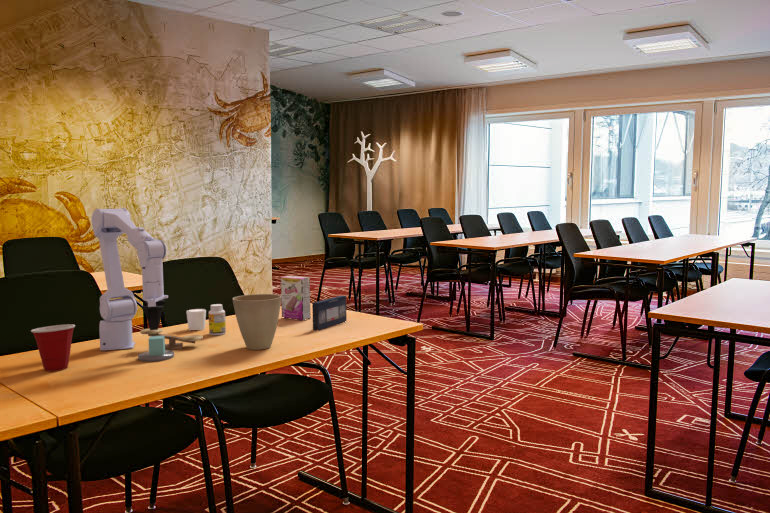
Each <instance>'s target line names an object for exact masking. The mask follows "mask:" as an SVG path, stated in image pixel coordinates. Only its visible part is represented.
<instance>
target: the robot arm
mask: <svg viewBox="0 0 770 513" xmlns="http://www.w3.org/2000/svg"><path fill="white" fill-rule="evenodd" d="M128 210H129V209H127V208H125V207H122V208H95V209H94V211H93V212H92V214H91V226H92V230H93V236H94V237H96V238H98V242H99V248H100V249H99V250H100V253H101V254H100V255H101V258H102V265H103V271H104V277H105V283H106V289H107V290H106V291H105V292H103V294H101V295H100V297H99V314H100V317H101V318H102V319H103V320H100V321H99V327H98V328H99V329H98V330H99V333H98V334H99V348H100V349H99V351H113V350H114V351H115V350H125V349H134V346H135V345H136V341H133V324H132V323H133V321H132V319H134V318H135V315H136V314H137V311H138V304H137V301H136V298H135V294H134V293H133V291H132V290H130V289H128V288H126V287H125V283H124V282H125V281H124V276H123V271H122V266H121V259H120V253H119V247H118V241H117V239H118V237H120V236H122V235H123V234H125V235H126V236H127V237H126V238H127V239H126V240H127V242H128V243H129V244H130V245H131V246H132V247H133V248H134V249H135V250H136V254H137V255H136V256H137V258H138V262H139V266H140V267H141V274H142V275H141V277H142V300H143V301H145V302H144V304H145V305H142V306H141V310H142V311H143V313H144V314H145V317H146V321H147V324H148V329H150V330H158V328H159V326H160V324H161V319H162V312H163V308H164V304H165V303H166V300H165V299H168V298H169V295H168V294H164V291H165V290H164V289H165V288H164V287H165V286H164V267H163V266H164V265H163V259H165V258H166V254H167V247H166V244H165V242H164V241H163V239H156V238H154V237H153V236H152V235H151V234H150V233H148V232H147V231H146V230H145V228H144V227H142V226H136V225H135V223H134V222H133V221H132V219H131V213H130V211H128Z"/></svg>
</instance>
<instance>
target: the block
mask: <svg viewBox="0 0 770 513" xmlns="http://www.w3.org/2000/svg"><path fill="white" fill-rule="evenodd" d="M147 339H148V351H149V356H159V355H164V353H165V344H166V342H165V341H166V340H165V338H164V336H149V337H148V338H147Z"/></svg>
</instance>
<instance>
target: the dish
mask: <svg viewBox="0 0 770 513" xmlns="http://www.w3.org/2000/svg"><path fill="white" fill-rule="evenodd" d="M174 357H175V352H174V351H173V350H165V353H164V355H159V356H149V350H148V351H144V352H141V353H139V354H138V357H137V360H138V361H141V362H144V363H147V362H149V363H151V362H152V363H153V362H163V361H166V360H170V359H172V358H174Z"/></svg>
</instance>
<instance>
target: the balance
mask: <svg viewBox="0 0 770 513" xmlns="http://www.w3.org/2000/svg"><path fill="white" fill-rule="evenodd" d="M162 332H163V328H161V327H158V330H150V329H149V328H144V329H141V330H140V332H139V333H140V334H141V335H147V336H148V337H150V336H164V338H165V339H166V340H168V343H165V350H170V351H173V350H182V349H183V346H184V344H183V342H184V343H190V344H196V341H200V340H201V341H202V340H203V339H204V335H202V334H190V335H189V334H188V335H185V336H175V335H171V334H165V333H162ZM176 341H178V342H176Z"/></svg>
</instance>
